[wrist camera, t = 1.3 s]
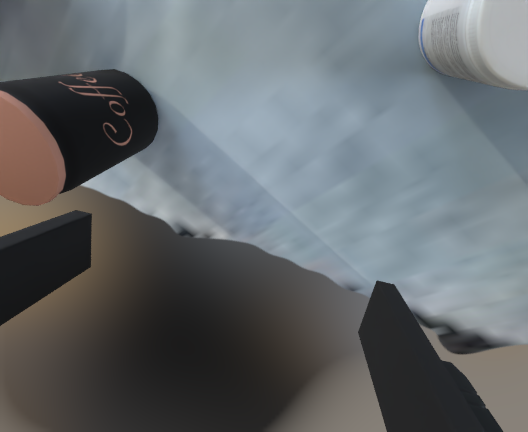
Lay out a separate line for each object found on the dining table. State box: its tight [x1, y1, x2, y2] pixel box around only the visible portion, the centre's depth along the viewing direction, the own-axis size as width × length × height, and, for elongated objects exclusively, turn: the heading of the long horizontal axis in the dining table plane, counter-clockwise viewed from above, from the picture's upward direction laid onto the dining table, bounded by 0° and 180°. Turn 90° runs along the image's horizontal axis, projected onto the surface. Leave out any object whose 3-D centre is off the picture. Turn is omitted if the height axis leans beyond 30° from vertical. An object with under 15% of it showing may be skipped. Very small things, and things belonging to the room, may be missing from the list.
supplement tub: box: [419, 0, 528, 90], centre depth 22 cm, size 10×10×15 cm
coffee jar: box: [0, 69, 158, 206], centre depth 33 cm, size 11×11×18 cm
